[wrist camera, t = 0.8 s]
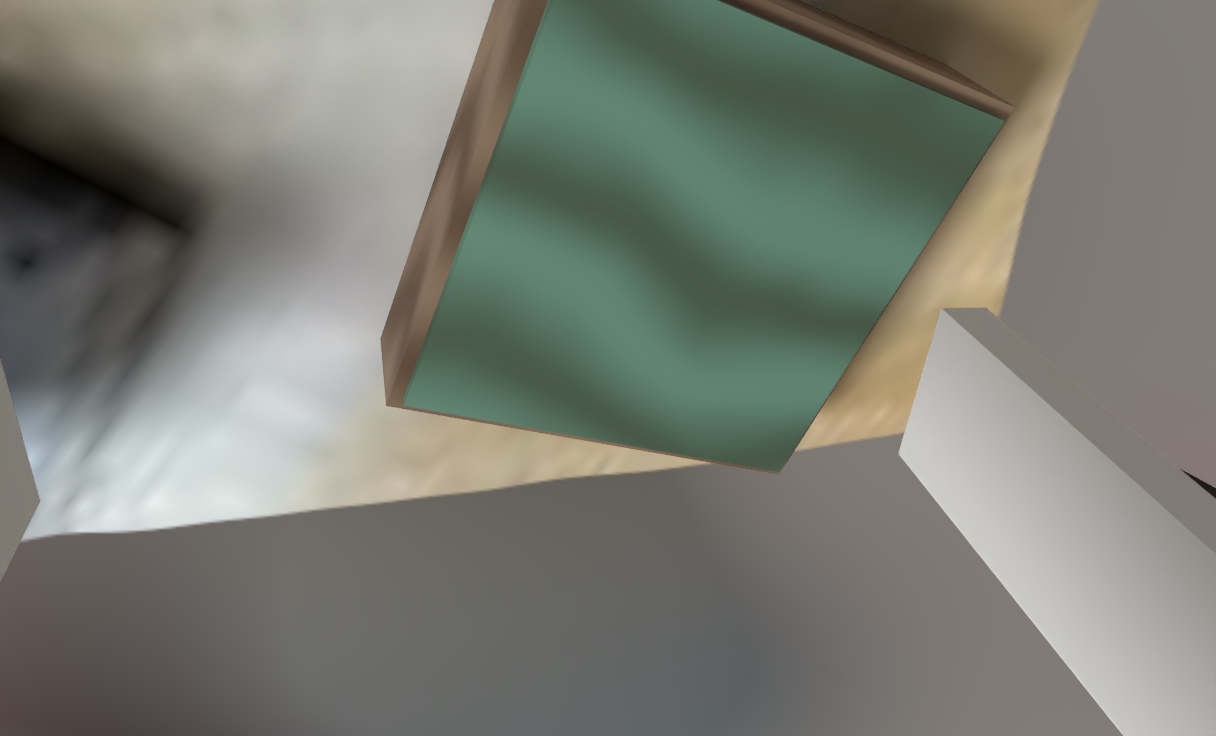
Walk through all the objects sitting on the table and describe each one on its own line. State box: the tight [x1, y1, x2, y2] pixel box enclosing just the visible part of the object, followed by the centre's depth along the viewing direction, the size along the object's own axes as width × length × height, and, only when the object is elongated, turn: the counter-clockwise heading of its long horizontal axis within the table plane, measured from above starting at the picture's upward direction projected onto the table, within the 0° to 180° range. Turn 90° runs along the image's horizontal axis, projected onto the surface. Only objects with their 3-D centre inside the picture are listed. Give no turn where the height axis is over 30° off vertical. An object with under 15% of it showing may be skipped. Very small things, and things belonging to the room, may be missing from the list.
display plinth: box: [381, 0, 1015, 474], centre depth 36 cm, size 18×18×5 cm
